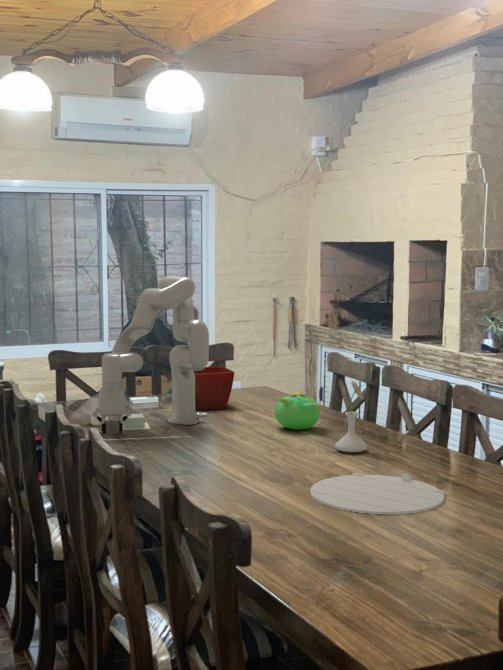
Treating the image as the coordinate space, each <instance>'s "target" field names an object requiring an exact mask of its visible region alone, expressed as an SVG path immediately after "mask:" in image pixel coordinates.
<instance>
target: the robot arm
mask: <svg viewBox="0 0 503 670" xmlns="http://www.w3.org/2000/svg"><path fill="white" fill-rule="evenodd" d="M158 282H159V283H158V288H154V287H153V288H145V290H143V291H142V293H141V295H140V296H139V300H138V302H137V305H136V308H135V311H134V313H133V316H132V319H131V322H130V323H129V325H128V326H127V327H126V328H125V329H124V330H123V331H122V332H121V333H120V335H119V336H118V337H117V339H116V341H115V342H114V345H113V348H112V350H111V353H108V352H107V353H104V354H103V355H102V356H101V388H100V389H99V392H98V395H99V401H98V408H97V409H96V410H95V411H94V412H93V414H92V415H93V416H94V417H95V418H96V419H97V420H98V421H100V422H101V423H102V425H101V433H103V434H105V435H107V434H106V424H105V419H106V416H108V417H118V421H119V433H118V434H121V433H122V432H124V431H123V422H124V421H125V420H126V419H127V418H128V417H129V416H130V415H131V414H133V413H132V411H130V409H129V408H128V407H127V406H126V396H125V389H124V388H123V387H126V386H127V382H124V381H123V373H124V372H126V373H127V372H128V373H135V372H138V371H141V369H142V367H143V365H144V358H143V357H142V356H141V355H140V354H139V353H137V352H133V351H131V349H132V346H133V345H134V344H135V342H136V341H138V340H139V339H140V338H142V337H143V336H146V335H148V334H149V333H150V332H152V331H153V327H154V324H155V322H156V319H157V315H159V311H160V312H166V311H170V310H171V309H172V334H173V338H174V339H175V340H176V341H177V342H178V341H179V342H181V343H182V342H183V343H187V344H188V345H187V344H186V345H185V344H178V345H175V346H174V347H172V349H171V351H170V352H169V365H170V370H171V417H170V418H168V420H167V422H168V423H171V424H177V425H184V426H189V425H190V426H191V425H197V424H199V423H200V418H202V419H203V418H204V419H205V418H206V419H207V417H208V415H207V412H197V410H196V408H195V374H194V371H201V370H203V369H204V368H205V367H208V362H209V359H210V357H209V356H210V355H209V352H210V335H209V334H210V333H209V328H208V327H207V324H206V323H205V322H204V321H202V320H200V319H195V311H194V310H195V309H194V302H193V299H192V296H193V295H194V293H195V291H196V286H195V283H194V280H193V279H191V278H190V277H185V276H177V275H176V276H175V275H166V276H163V277H162V278H160V279H159V280H158ZM98 412H99V415H101V416H102V418H101V417H100V416H98V415H97V413H98ZM125 414H126V415H125ZM122 415H124V416H123V417H122Z"/></svg>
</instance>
